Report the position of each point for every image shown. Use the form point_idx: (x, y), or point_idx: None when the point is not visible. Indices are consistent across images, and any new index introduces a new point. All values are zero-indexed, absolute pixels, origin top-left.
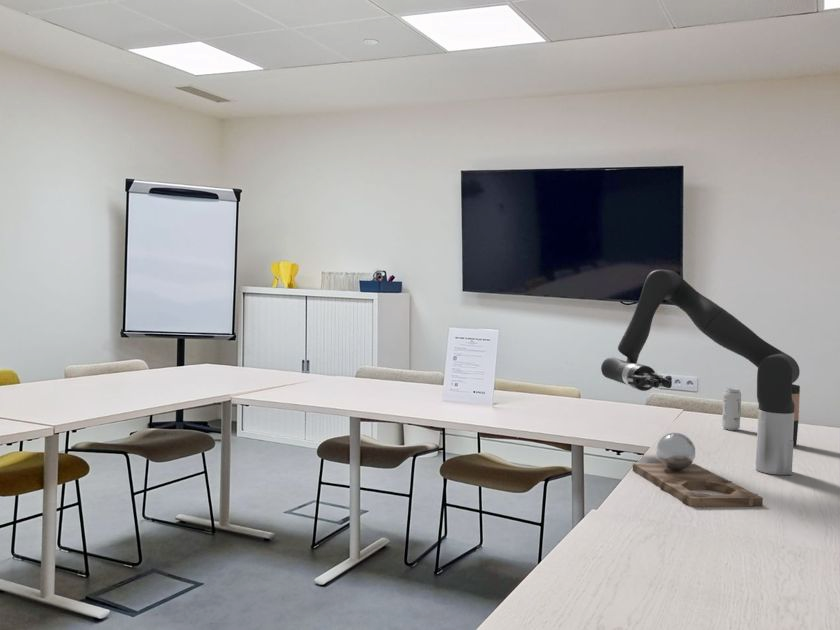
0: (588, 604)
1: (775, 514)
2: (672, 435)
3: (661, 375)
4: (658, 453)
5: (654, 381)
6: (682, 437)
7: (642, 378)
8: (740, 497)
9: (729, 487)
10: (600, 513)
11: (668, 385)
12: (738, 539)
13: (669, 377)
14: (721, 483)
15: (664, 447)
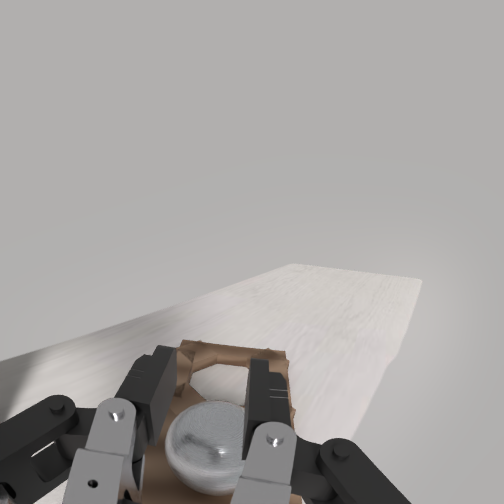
0: (391, 280)
1: (193, 331)
2: (239, 412)
3: (81, 455)
4: None
5: (275, 372)
6: (216, 401)
7: (344, 442)
8: (213, 344)
9: (188, 375)
10: (392, 351)
11: (175, 372)
12: (281, 307)
13: (60, 403)
14: (187, 388)
15: None
